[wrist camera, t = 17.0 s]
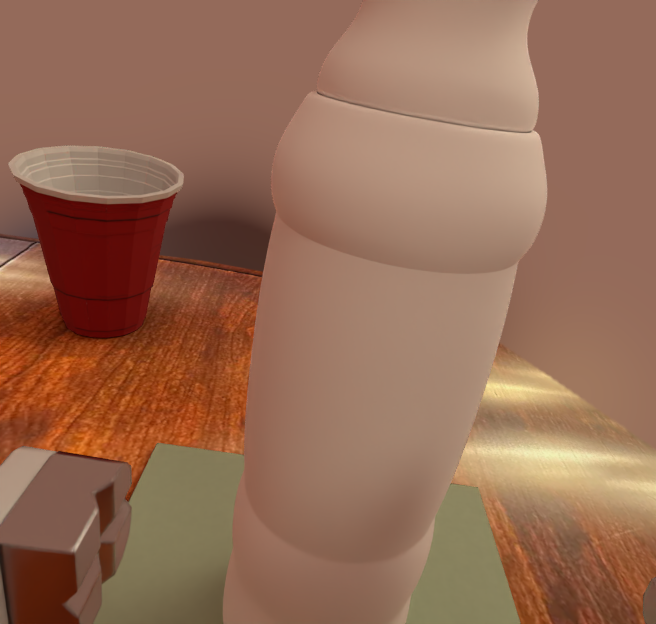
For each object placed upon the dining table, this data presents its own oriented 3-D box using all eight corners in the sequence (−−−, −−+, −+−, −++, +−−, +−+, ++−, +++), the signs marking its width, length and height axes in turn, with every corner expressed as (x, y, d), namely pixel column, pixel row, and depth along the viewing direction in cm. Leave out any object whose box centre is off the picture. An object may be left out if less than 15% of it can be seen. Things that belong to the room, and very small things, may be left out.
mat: (476, 492, 30) (478, 487, 30) (629, 994, 14) (635, 988, 14) (157, 448, 30) (157, 442, 29) (-71, 923, 13) (-74, 917, 13)
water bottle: (433, 657, 21) (746, -146, 10) (273, 761, 17) (511, -352, 6) (334, 525, 26) (475, -104, 15) (193, 582, 22) (253, -205, 12)
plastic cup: (19, 365, 34) (-2, 178, 29) (28, 293, 43) (13, 139, 38) (191, 352, 39) (199, 188, 34) (167, 290, 48) (171, 152, 43)
